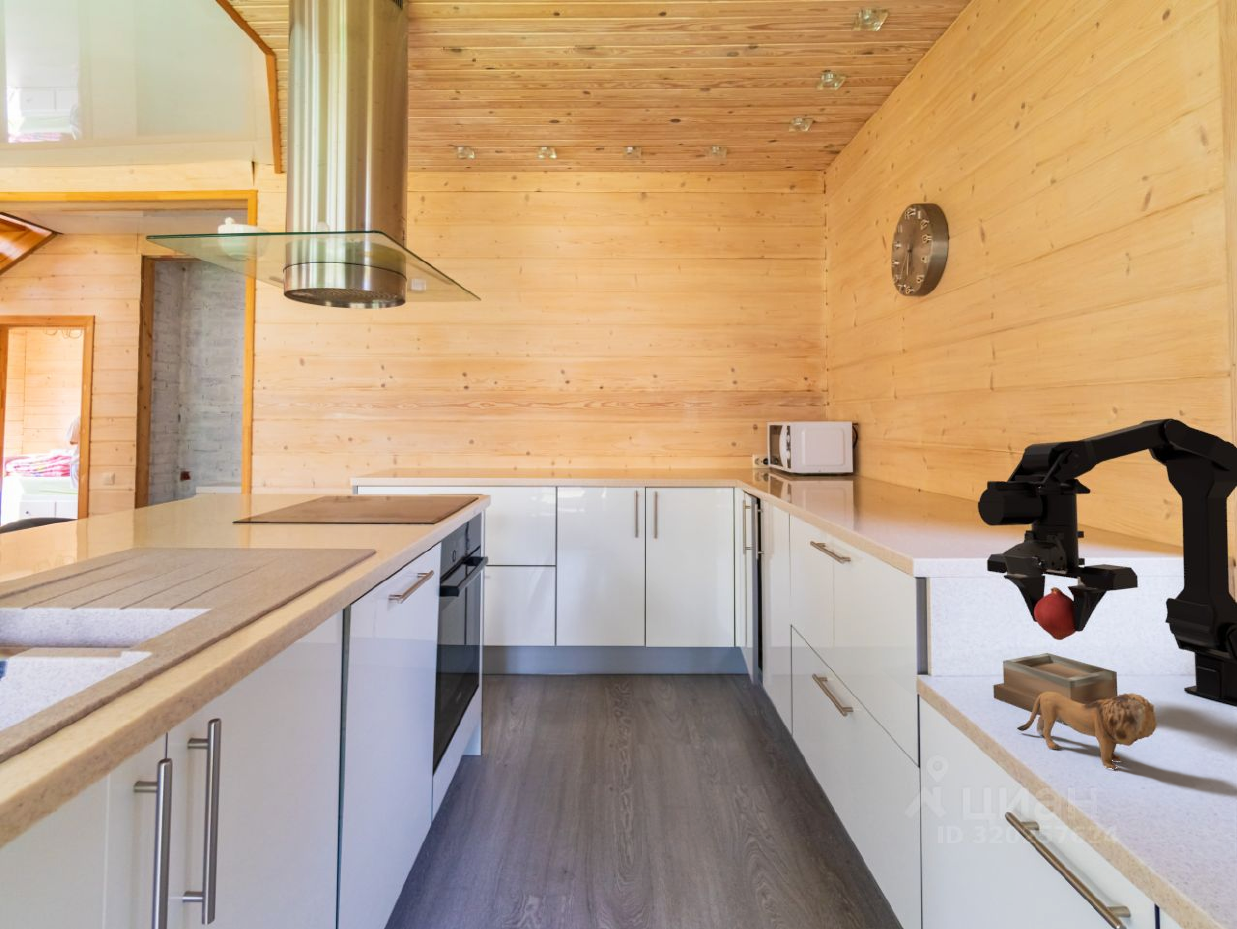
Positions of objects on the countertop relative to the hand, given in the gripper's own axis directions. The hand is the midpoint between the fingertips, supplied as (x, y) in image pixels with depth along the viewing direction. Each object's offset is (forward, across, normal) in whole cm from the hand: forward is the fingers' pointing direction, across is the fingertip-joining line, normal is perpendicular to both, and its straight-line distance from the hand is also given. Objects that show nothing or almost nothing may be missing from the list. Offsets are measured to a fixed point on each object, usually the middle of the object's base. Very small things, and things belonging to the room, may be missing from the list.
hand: (1057, 626), depth 89 cm
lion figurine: (+12, +11, -12) cm, 21 cm away
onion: (+2, 0, 0) cm, 2 cm away
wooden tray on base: (+12, 0, 0) cm, 12 cm away
